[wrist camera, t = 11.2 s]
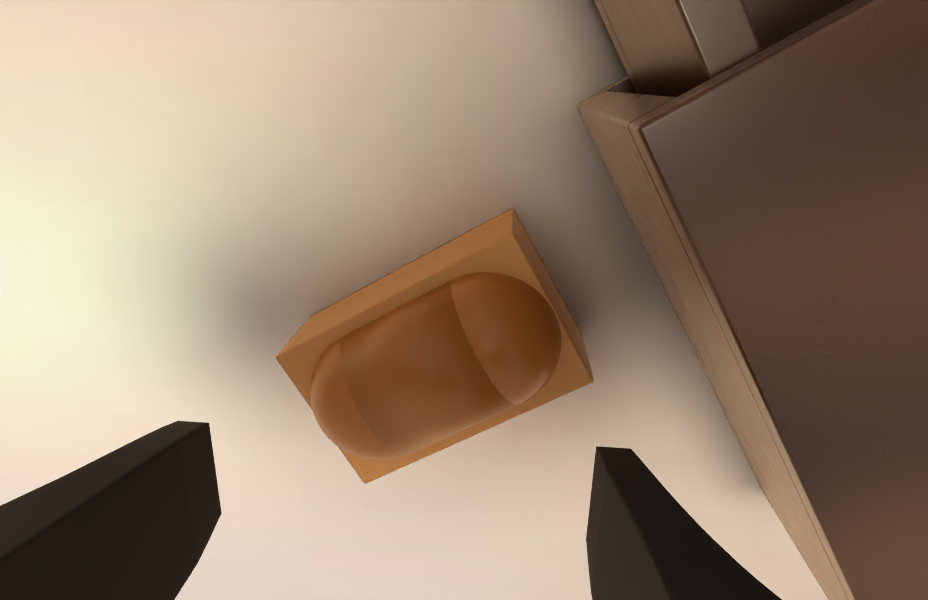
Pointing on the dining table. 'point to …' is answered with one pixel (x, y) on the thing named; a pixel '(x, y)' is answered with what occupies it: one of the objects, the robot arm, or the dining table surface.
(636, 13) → the drawer
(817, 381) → the cabinet
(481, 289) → the capsule-topped tan block
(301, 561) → the dining table surface
